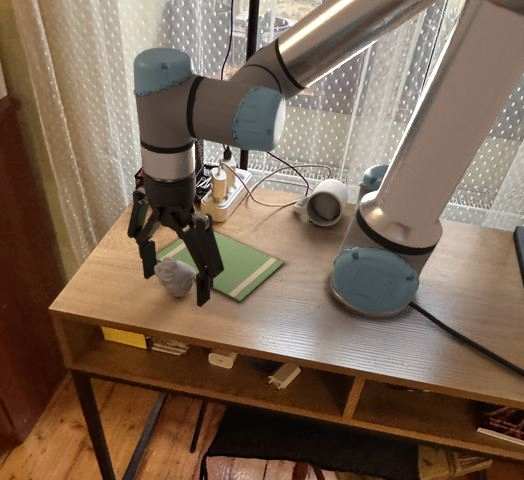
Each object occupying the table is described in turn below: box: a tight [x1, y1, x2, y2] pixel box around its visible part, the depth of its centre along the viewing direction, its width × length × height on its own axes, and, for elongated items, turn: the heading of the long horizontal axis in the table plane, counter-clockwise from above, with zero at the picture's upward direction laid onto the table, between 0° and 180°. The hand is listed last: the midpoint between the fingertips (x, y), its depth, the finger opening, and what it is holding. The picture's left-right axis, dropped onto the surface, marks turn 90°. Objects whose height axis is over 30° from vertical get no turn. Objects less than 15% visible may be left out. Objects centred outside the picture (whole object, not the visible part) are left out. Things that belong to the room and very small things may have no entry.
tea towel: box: [156, 230, 284, 303], centre depth 101 cm, size 20×14×1 cm
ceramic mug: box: [293, 178, 349, 227], centre depth 112 cm, size 11×8×8 cm
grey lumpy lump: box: [154, 257, 196, 298], centre depth 92 cm, size 6×7×7 cm
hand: (176, 288), depth 94 cm, fingers open, 11 cm apart
